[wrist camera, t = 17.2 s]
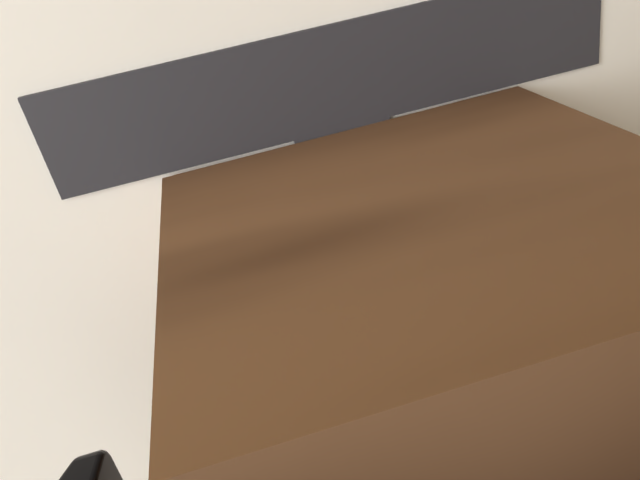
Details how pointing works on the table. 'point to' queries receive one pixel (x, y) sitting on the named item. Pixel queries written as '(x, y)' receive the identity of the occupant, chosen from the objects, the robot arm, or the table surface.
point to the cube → (406, 303)
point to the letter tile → (213, 157)
